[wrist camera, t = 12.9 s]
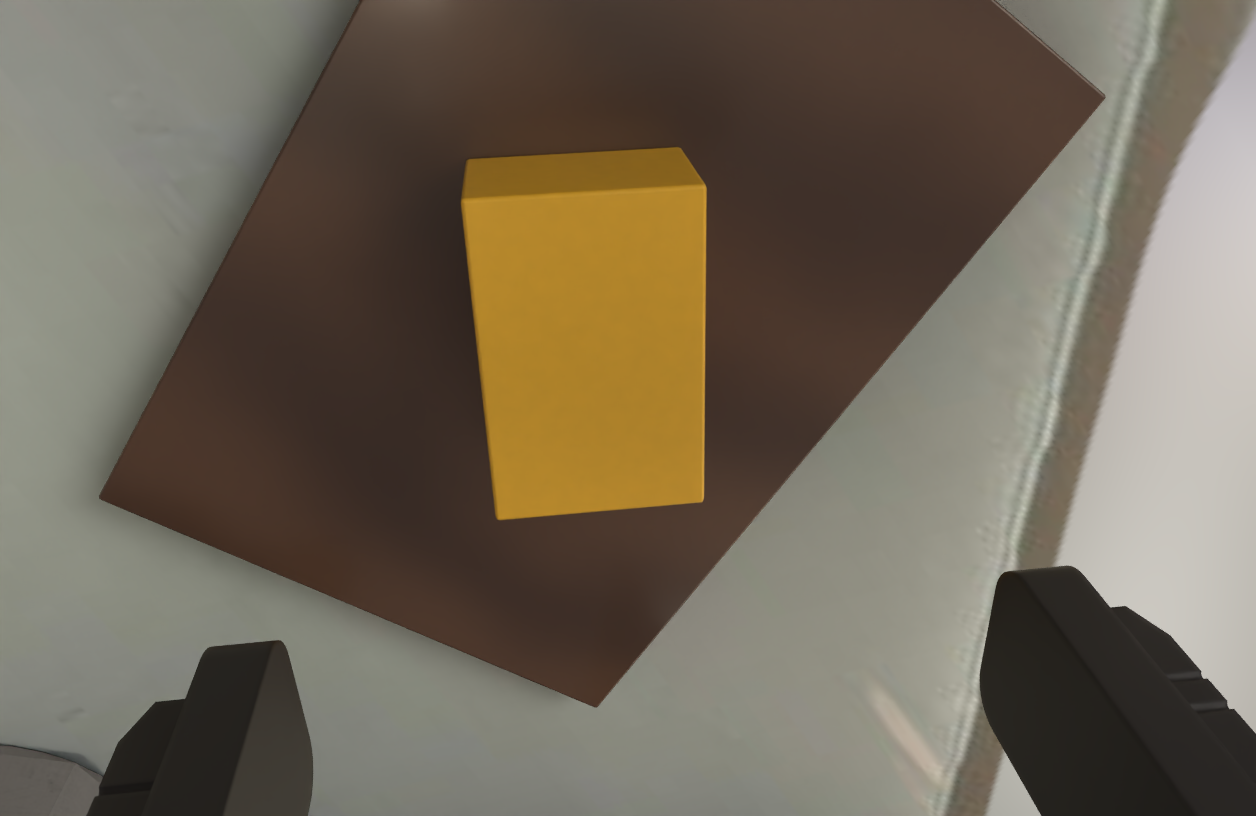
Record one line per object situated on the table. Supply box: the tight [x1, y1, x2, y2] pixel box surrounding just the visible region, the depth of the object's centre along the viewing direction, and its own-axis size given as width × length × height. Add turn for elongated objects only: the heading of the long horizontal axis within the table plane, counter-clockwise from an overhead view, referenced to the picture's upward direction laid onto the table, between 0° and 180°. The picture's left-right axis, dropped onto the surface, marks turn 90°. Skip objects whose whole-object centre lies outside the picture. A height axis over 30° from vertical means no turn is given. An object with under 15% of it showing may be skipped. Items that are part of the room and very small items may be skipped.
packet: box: [461, 147, 707, 520], centre depth 21 cm, size 7×4×3 cm, turn 2°
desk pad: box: [99, 0, 1105, 707], centre depth 23 cm, size 20×14×1 cm
